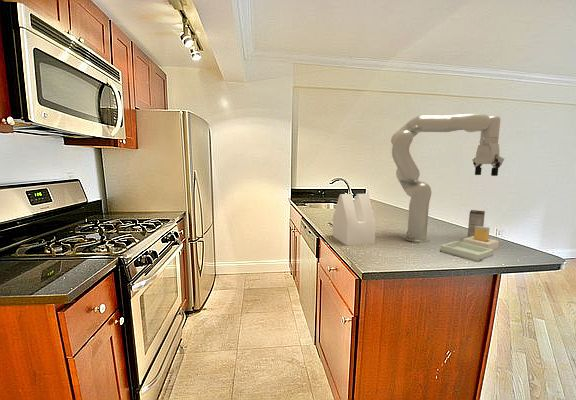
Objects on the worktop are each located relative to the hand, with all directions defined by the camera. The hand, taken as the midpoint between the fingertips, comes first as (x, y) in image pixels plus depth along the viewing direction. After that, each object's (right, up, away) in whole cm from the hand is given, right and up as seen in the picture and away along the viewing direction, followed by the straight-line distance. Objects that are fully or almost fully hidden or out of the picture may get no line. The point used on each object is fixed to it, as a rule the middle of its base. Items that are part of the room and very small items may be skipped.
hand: (485, 175), depth 141 cm
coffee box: (-2, -35, +6) cm, 36 cm away
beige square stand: (-7, -36, -6) cm, 38 cm away
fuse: (-7, -36, -6) cm, 37 cm away
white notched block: (-67, -35, +7) cm, 76 cm away
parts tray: (-20, -38, -15) cm, 45 cm away
